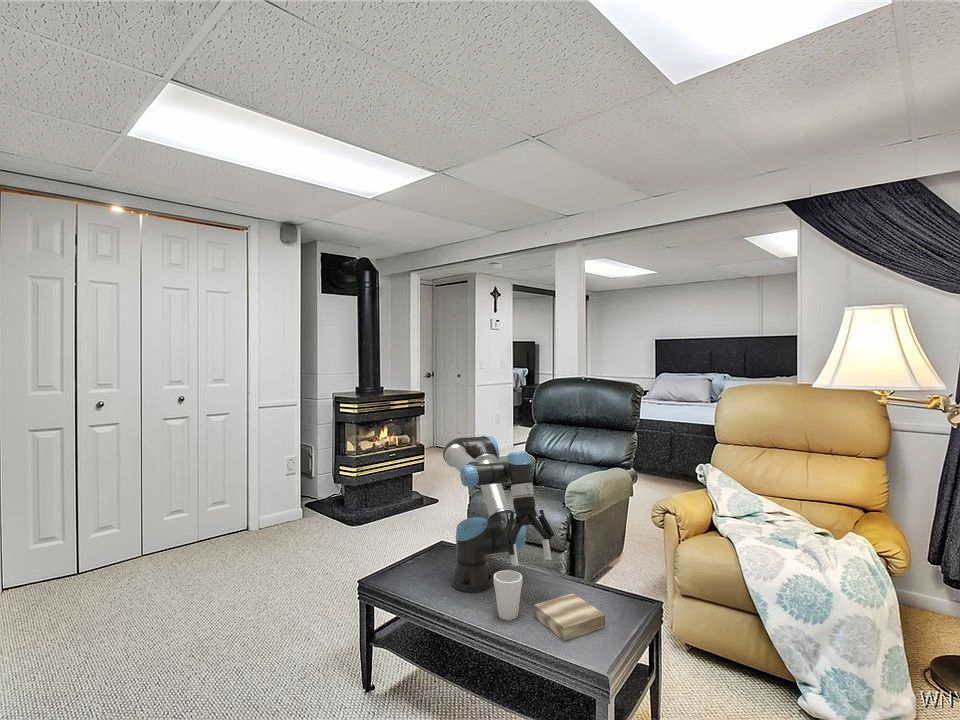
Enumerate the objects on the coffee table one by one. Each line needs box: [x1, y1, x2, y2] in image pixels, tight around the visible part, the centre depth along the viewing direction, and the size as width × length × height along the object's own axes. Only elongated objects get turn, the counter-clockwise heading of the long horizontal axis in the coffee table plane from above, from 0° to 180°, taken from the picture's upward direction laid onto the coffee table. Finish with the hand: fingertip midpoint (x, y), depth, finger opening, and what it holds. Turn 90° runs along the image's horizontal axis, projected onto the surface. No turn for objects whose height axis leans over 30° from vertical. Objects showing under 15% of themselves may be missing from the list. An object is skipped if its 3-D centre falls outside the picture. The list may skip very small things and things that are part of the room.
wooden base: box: [533, 592, 606, 642], centre depth 167 cm, size 16×16×4 cm
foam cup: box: [493, 569, 523, 621], centre depth 171 cm, size 10×9×13 cm
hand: (531, 562), depth 173 cm, fingers open, 13 cm apart
